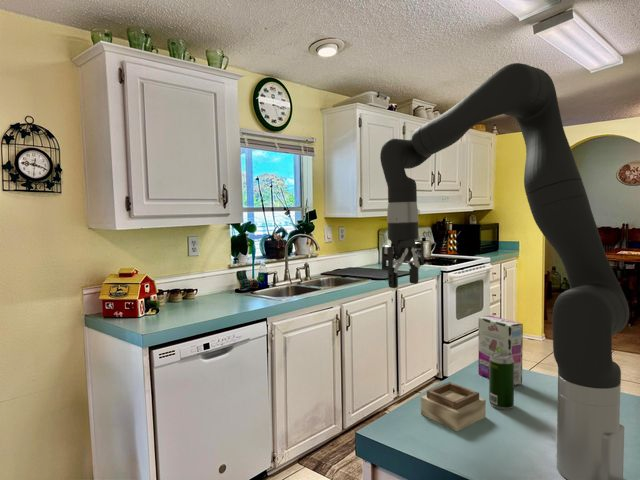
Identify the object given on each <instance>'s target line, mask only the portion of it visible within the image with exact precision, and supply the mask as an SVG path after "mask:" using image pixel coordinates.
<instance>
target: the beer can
mask: <svg viewBox="0 0 640 480" xmlns="http://www.w3.org/2000/svg"><path fill="white" fill-rule="evenodd" d="M490 356H491V357H490V359H489V385H488V386H489V387H488V389H489V390H488V394H489V395H488V397H489V398H488V401H489V404H490V405H491V407H493V408H495V409H498V410H502V411H507V410H508V411H509V410H511V409H513V407H514V405H515V403H514V402H515V386H514V360H513V356H512V355H510V354H507V353H501V352H496V353H492V354H491V355H490Z"/></svg>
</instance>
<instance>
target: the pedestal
mask: <svg viewBox="0 0 640 480" xmlns="http://www.w3.org/2000/svg"><path fill="white" fill-rule="evenodd" d="M486 408H487V407H486V399H485V398H482V397H480V392H478V391H475V390H472V389H470V388H467V387H464V386H462V385H459V384H456V383H453V382H451V381H448V382H446V383H443V384H441V385H437V386H436V387H434V388H430V389H429V390H426V394H425V395H422V396H420V414H421V415H422V416H424V417H426V418H429V419H430V420H432V421H435V422H437V423H440V424H441V425H443V426H446V427H448V428H450V429H452V430H454V431H456V432H460V431H461V430H463V429H465V428H467V427H469V426H472V425H473V424H475V423H476V422H479V421H480V420H483V419H484V418H486V411H487V409H486Z"/></svg>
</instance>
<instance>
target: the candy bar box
mask: <svg viewBox="0 0 640 480" xmlns="http://www.w3.org/2000/svg"><path fill="white" fill-rule="evenodd" d="M523 325H524V324H523V323H520V322H518V321H517V322H516V321H513V320H509V319H505V318H501V317H498V316H493V315H485V316H480V317H478V365H477V366H478V371H477V372H478V375H480V376H482V377H484V378H487V379H489V359H490V357H491V356H490V355H491V354H492V353H496V352H501V353H507V354H510V355H512V356H513V360H514V387H517V386H521V385H523V347H524V346H523V343H524V342H523V338H524V337H523V335H524V334H523V329H524V328H523V327H524V326H523Z"/></svg>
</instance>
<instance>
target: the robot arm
mask: <svg viewBox="0 0 640 480" xmlns="http://www.w3.org/2000/svg"><path fill="white" fill-rule="evenodd" d="M557 95H558V94H557V90H556V87H555V84H554V81H553V78H552V77H551V76H550V75H549V73H547V72H546V71H544V70H543V69H541V68H538V67H535V66H531V65H529V64H525V63H521V62H516V63H515V62H514V63H510V64H508V65H504V66H503V67H502V68H500V69H498V70H497V71H496V72H494V73H493V74H492V75H491V76H489V77H488V78H487V79H486V80H485V81H483V82H482V83H481V84H480V85H479V86H477V87H476V88H475V89H474V90H472V91H471V92H470V93H469V94H468V95H466V96H465V97H464V98H462V99H461V100H460V101H458V102H457V103H456V104H455V105H453V106H452V107H450V108H449V109H447V110H446V111H445V112H443V113H442V114H440V115H437V116H436V117H435V118H433V119H431V120H429V121H427V122H425V123H424V124H422V125H421V126H419V127H417V128H416V129H415V130H414V131H413V133H412V135H411V139H404V138H403V139H402V138H389V139H387V140H386V141H385V142H384V143H383V145H382V147H381V148H380V149H381V150H380V156H379V157H380V164H381V167H382V172H383V174H384V179H385V183H386V186H387V213H386V214H387V216H386V217H387V222H386V223H387V239H388V240H389V241H391V243H390V245H382V247H381V270H382V271H386V272H387V275H388V276H387V277H388V282H387V284H388V287H389V288H390V289H397V288H398V287H399V281H398V280H399V277H398V276H399V274H398V271H399V269H400V267H401V266H402V265H403V263H405V262H406V263H407V265H408V266H409V270H408V271H409V273H408V275H409V283H410V284H414V285H415V284H418V283H419V269H420V268H421V267H422V266H425V265H424V264H425V260H424V259H425V257H424V255H425V253H424V243H423V242H419V241H416V240H419V236H420V235H419V209H418V208H419V207H418V199H417V198H418V196H417V193H418V192H417V189H418V188H417V183H416V181H415V179H414V178H411V177H409V176H408V175H407V174H406V169H408V170H410V169H414V168H416V167H418V166H421V165H422V164H423V163H425V162H426V161H427V160H428V159H429V158H430V157H432V155H434V154H436V153H439V152H441V151H443V150H444V149H447V148H449V147H451V146H453V145H454V144H455V143H457V142H459V140H460V139H462V138H463V137H464V135H466V133H467V132H468V131H469V130H471V129H472V128H473V127H474V126H476V125H477V124H479V123H481V122H483V121H485V120H489V119H492V118H494V117H497V116H502V115H505V116H508V117H509V116H511V117H514V118H515V119H516V122H517V123H518V126H519V129H520V131H521V134H522V137H523V140H524V144H525V150H526V151H525V152H526V156H525V165H524V174H523V175H524V176H523V184H524V192H525V195H526V198H527V199H526V200H527V202H528V205H529V209H530V212H531V214H532V217H533V220H534V223H535V224H536V225H537V227H538V229H539V230H540V232H541V234H542V235H543V236H544V238H545V239H546V240H547V242H548V243H549V244H550V245H551V247H552V248H553V249H554V251H555V252H556V253H557V256H558V257H559V258H560V260H561V263H562V265H563V266H564V271H565V273H566V276H567V281H568V284H569V288H570V289H566V290H565V291H563V292H561V293H560V294H559V295H558V297H557V298H556V299H555V301H554V304H553V308H552V317H551V319H552V320H551V322H552V323H551V325H552V329H551V330H552V348H553V349H552V350H553V351H552V352H553V357H554V360H555V363H556V365H557V408H556V409H557V413H556V414H557V415H556V416H557V418H556V420H557V421H556V422H557V424H556V430H557V431H556V469H557V470H558V472H559V474H560V475H561V476H562V477H563V478H565V479H567V480H624V463H625V462H624V461H625V460H624V459H625V457H624V456H625V453H624V452H625V426H624V425H623V424H621V423H620V422H621V421H620V420H621V390H622V389H621V388H622V387H621V386H622V381H621V380H622V370H621V367H620V366H619V364H618V363H617V362H615V361H613V350H612V346H613V345H612V340H613V339H612V337H613V336H614V335H616V334H618V333H620V332H621V331H622V330H623V329H624V328H626V326H627V324H628V322H629V320H630V307H629V304H628V301H627V298H626V295H625V293H624V291H623V288H622V287H621V285H620V283H619V281H618V278H617V277H616V274H615V272H614V270H613V268H612V265H611V263H610V262H609V259H608V256H607V254H606V251H605V248H604V246H603V242H602V239H601V235H600V232H599V229H598V226H597V224H596V221H595V217H594V213H593V211H592V207H591V205H590V201H589V197H588V194H587V191H586V188H585V186H584V182H583V179H582V177H581V174H580V171H579V168H578V167H577V163H576V160H575V157H574V155H573V151H572V149H571V146H570V143H569V141H568V137H567V135H566V133H565V132H566V131H565V129H564V126H563V120H562V116H561V115H562V114H561V112H560V110H561V109H560V107H559V106H560V105H559V101H558V96H557ZM415 241H416V242H415Z"/></svg>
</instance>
